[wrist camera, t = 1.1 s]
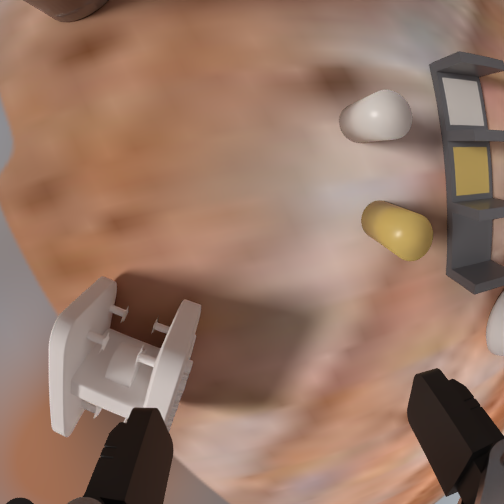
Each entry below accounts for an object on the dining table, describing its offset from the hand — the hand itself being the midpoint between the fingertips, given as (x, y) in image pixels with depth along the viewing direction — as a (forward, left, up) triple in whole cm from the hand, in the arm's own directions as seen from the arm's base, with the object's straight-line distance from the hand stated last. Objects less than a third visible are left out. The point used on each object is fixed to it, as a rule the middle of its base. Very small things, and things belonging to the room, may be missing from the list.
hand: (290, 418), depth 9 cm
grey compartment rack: (-4, +22, -21) cm, 31 cm away
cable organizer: (+9, -14, -21) cm, 27 cm away
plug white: (-9, +10, -21) cm, 25 cm away
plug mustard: (0, +11, -21) cm, 24 cm away
